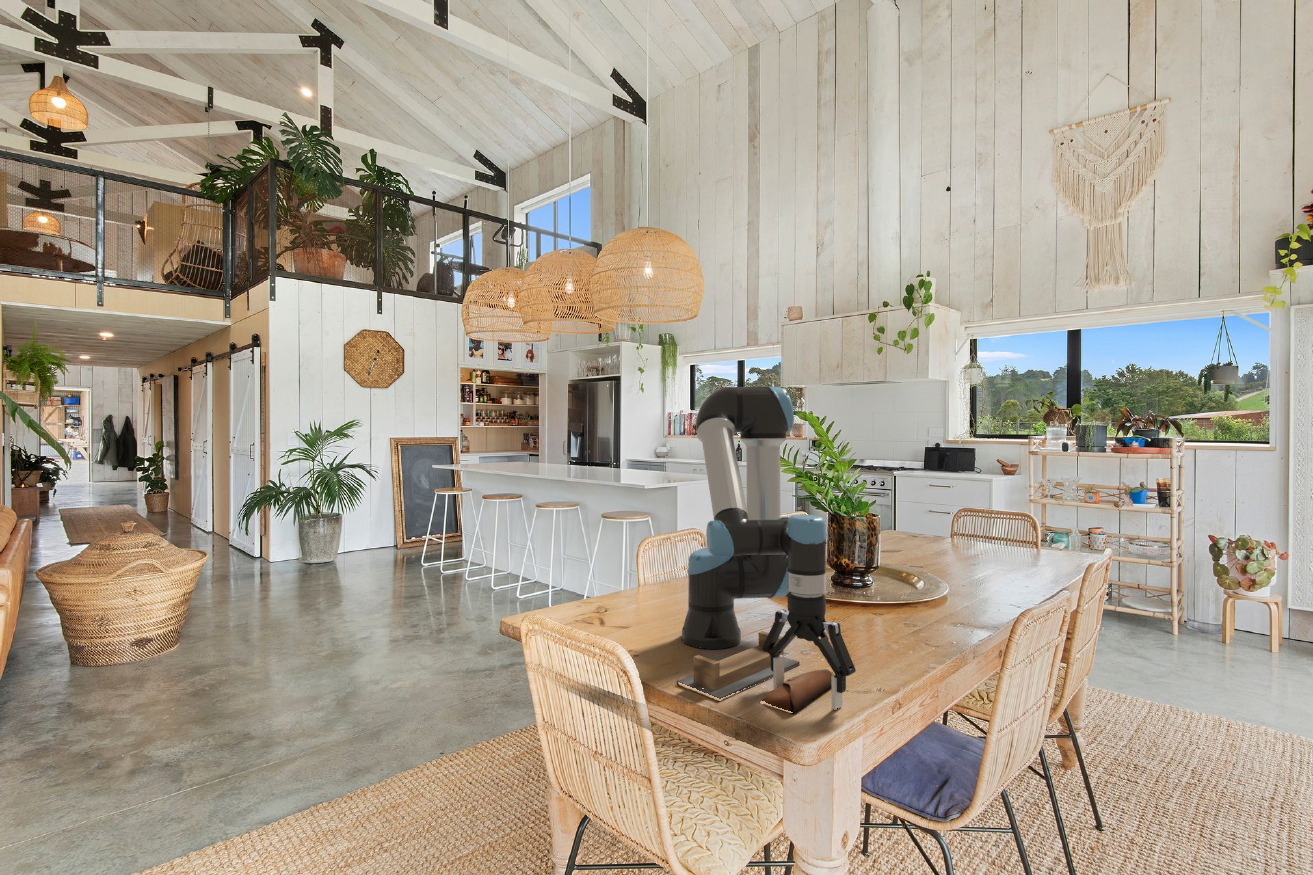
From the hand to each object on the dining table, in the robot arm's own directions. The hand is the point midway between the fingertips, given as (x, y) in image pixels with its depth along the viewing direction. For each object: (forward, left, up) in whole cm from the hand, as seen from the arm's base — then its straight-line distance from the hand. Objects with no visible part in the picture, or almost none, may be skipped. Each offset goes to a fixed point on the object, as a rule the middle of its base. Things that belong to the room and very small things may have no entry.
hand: (806, 697), depth 133 cm
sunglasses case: (-2, 0, -1) cm, 2 cm away
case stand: (-17, 0, 0) cm, 17 cm away
